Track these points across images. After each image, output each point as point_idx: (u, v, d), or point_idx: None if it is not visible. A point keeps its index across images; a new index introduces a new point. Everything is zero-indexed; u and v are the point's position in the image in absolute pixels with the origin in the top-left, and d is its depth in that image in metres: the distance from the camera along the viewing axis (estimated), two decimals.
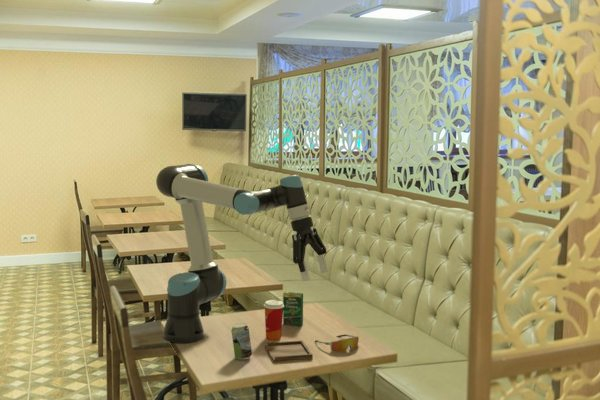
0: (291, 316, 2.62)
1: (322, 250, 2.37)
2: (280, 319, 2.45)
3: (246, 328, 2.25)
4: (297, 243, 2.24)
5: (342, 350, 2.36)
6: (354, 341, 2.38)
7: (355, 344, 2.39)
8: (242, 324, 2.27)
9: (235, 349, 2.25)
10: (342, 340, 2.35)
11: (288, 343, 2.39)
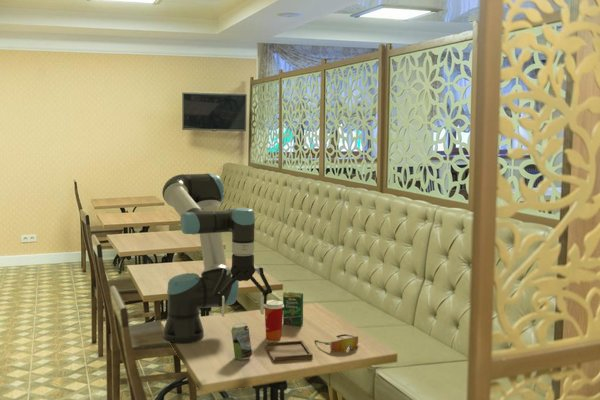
0: (291, 316, 2.62)
1: (263, 291, 2.25)
2: (280, 319, 2.45)
3: (246, 328, 2.25)
4: (221, 278, 2.21)
5: (342, 350, 2.36)
6: (354, 341, 2.38)
7: (355, 344, 2.39)
8: (242, 324, 2.27)
9: (235, 349, 2.25)
10: (342, 340, 2.35)
11: (288, 343, 2.39)
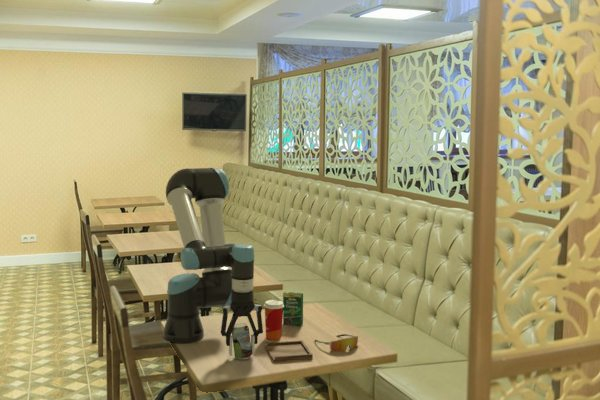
0: (291, 316, 2.62)
1: (255, 331, 2.26)
2: (280, 319, 2.45)
3: (246, 328, 2.25)
4: (223, 317, 2.23)
5: (341, 350, 2.36)
6: (353, 341, 2.39)
7: (354, 344, 2.39)
8: (242, 324, 2.27)
9: (235, 349, 2.25)
10: (341, 340, 2.36)
11: (288, 343, 2.39)
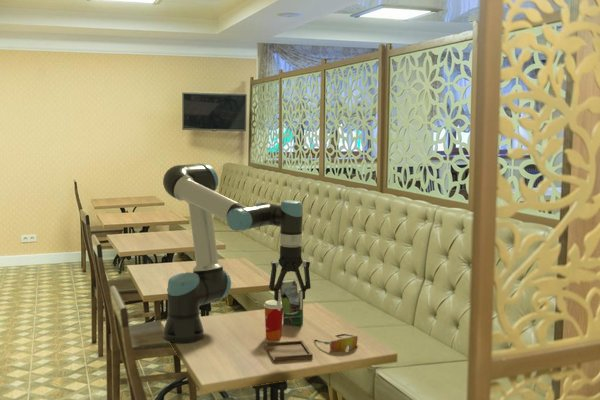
0: (291, 316, 2.62)
1: (303, 286, 2.29)
2: (280, 319, 2.45)
3: (294, 283, 2.28)
4: (272, 272, 2.26)
5: (341, 349, 2.36)
6: (353, 340, 2.39)
7: (354, 343, 2.40)
8: (290, 280, 2.30)
9: (283, 304, 2.28)
10: (341, 339, 2.36)
11: (288, 343, 2.39)
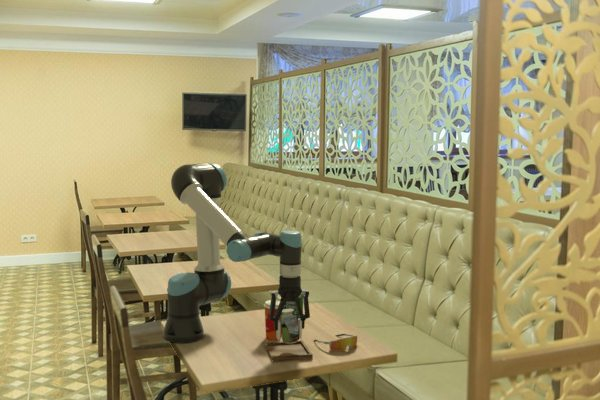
0: None
1: (302, 316, 2.31)
2: None
3: (294, 313, 2.30)
4: (272, 302, 2.28)
5: (341, 349, 2.37)
6: (353, 340, 2.39)
7: (354, 343, 2.40)
8: (289, 309, 2.32)
9: (283, 333, 2.30)
10: (341, 339, 2.36)
11: None
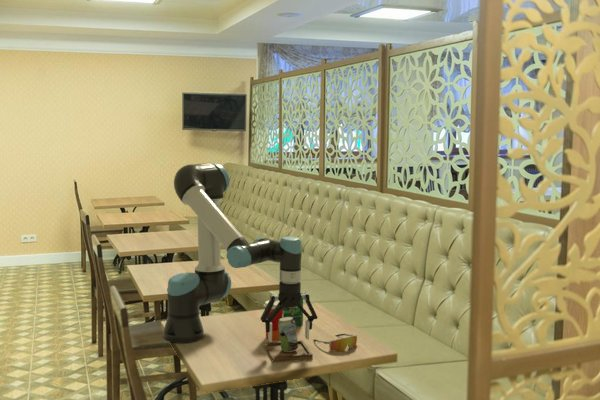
0: (291, 316, 2.62)
1: (309, 317, 2.32)
2: None
3: (292, 321, 2.30)
4: (269, 304, 2.28)
5: (341, 349, 2.37)
6: (353, 340, 2.39)
7: (354, 343, 2.40)
8: (288, 318, 2.32)
9: (282, 342, 2.30)
10: (341, 339, 2.36)
11: None
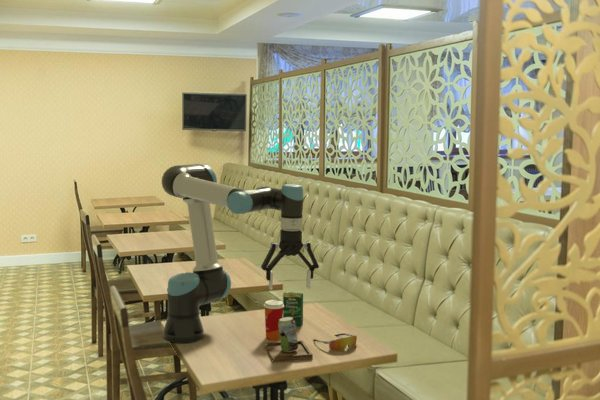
0: (291, 316, 2.62)
1: (310, 266, 2.29)
2: None
3: (293, 321, 2.30)
4: (269, 252, 2.25)
5: (340, 349, 2.37)
6: (352, 340, 2.39)
7: (353, 343, 2.40)
8: (288, 318, 2.32)
9: (282, 342, 2.30)
10: (340, 339, 2.36)
11: None
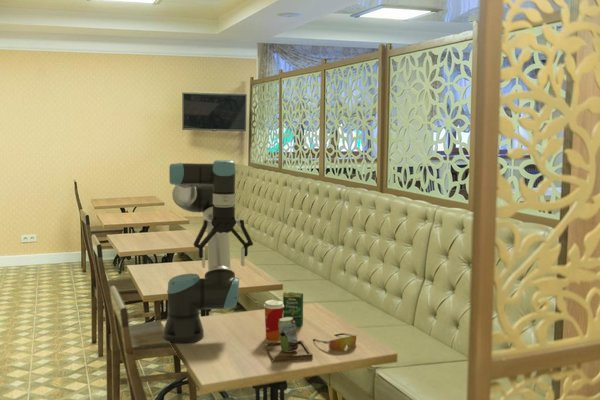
0: (291, 316, 2.62)
1: (244, 243, 2.26)
2: None
3: (293, 321, 2.30)
4: (201, 229, 2.22)
5: (340, 349, 2.37)
6: (352, 340, 2.40)
7: (353, 343, 2.40)
8: (288, 318, 2.32)
9: (282, 342, 2.30)
10: (340, 339, 2.37)
11: None
